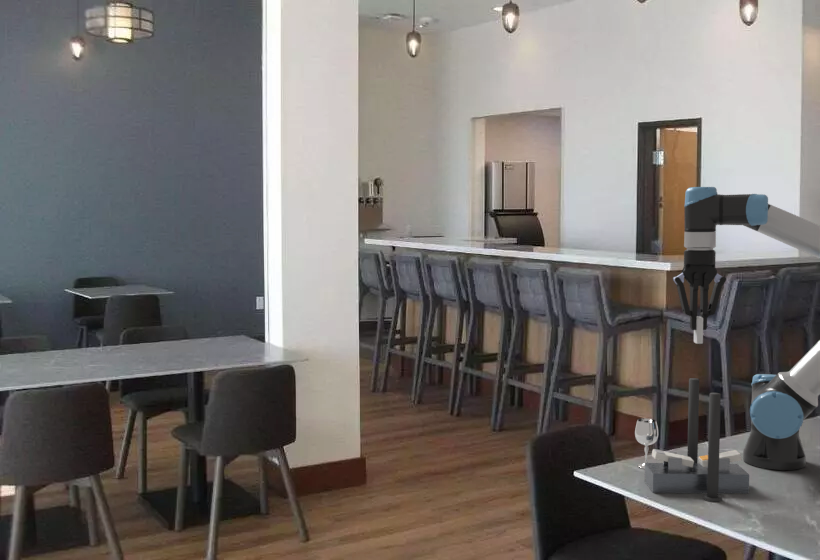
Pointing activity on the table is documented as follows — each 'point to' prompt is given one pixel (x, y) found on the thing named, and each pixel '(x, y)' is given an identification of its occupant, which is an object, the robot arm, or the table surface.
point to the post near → (713, 448)
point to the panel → (694, 477)
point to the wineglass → (646, 435)
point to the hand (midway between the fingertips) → (698, 342)
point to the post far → (693, 419)
